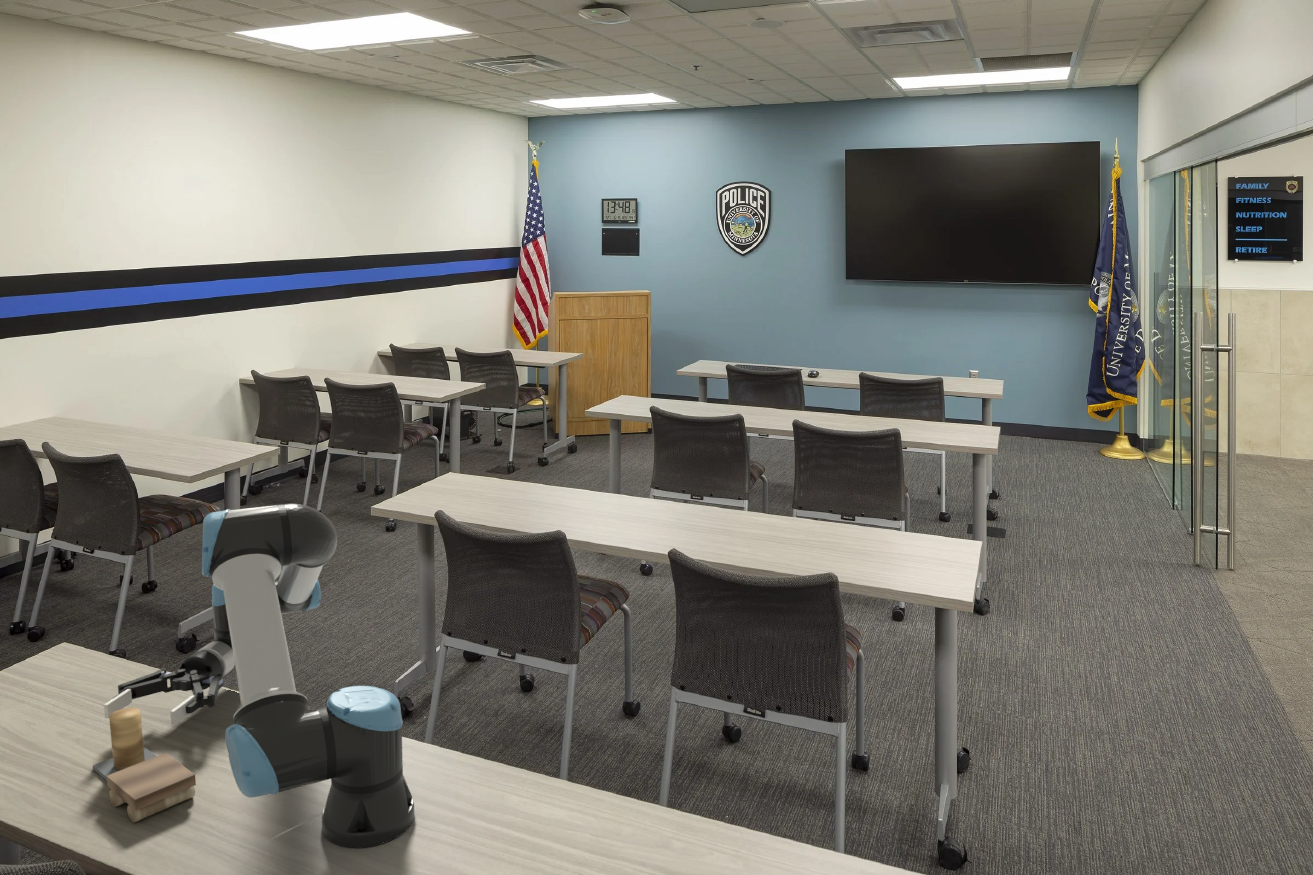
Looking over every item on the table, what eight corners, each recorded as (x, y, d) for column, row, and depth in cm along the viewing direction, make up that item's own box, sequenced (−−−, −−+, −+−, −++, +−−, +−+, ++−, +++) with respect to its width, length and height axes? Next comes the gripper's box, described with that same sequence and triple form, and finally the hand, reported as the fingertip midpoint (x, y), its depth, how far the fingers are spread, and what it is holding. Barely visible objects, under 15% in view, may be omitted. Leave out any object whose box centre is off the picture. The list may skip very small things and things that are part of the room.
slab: (197, 800, 162) (195, 774, 162) (137, 826, 155) (134, 799, 154) (167, 777, 169) (165, 752, 168) (108, 801, 161) (106, 775, 160)
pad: (165, 766, 173) (165, 762, 172) (114, 787, 166) (113, 783, 165) (143, 749, 178) (143, 745, 178) (92, 769, 171) (92, 765, 171)
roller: (149, 762, 172) (145, 713, 170) (121, 774, 168) (116, 723, 166) (137, 753, 175) (133, 704, 173) (109, 764, 171) (104, 714, 169)
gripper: (263, 687, 194) (202, 739, 173) (154, 677, 197) (80, 726, 177) (261, 654, 193) (199, 702, 172) (151, 644, 196) (77, 690, 175)
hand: (139, 714), depth 174 cm, fingers open, 13 cm apart
